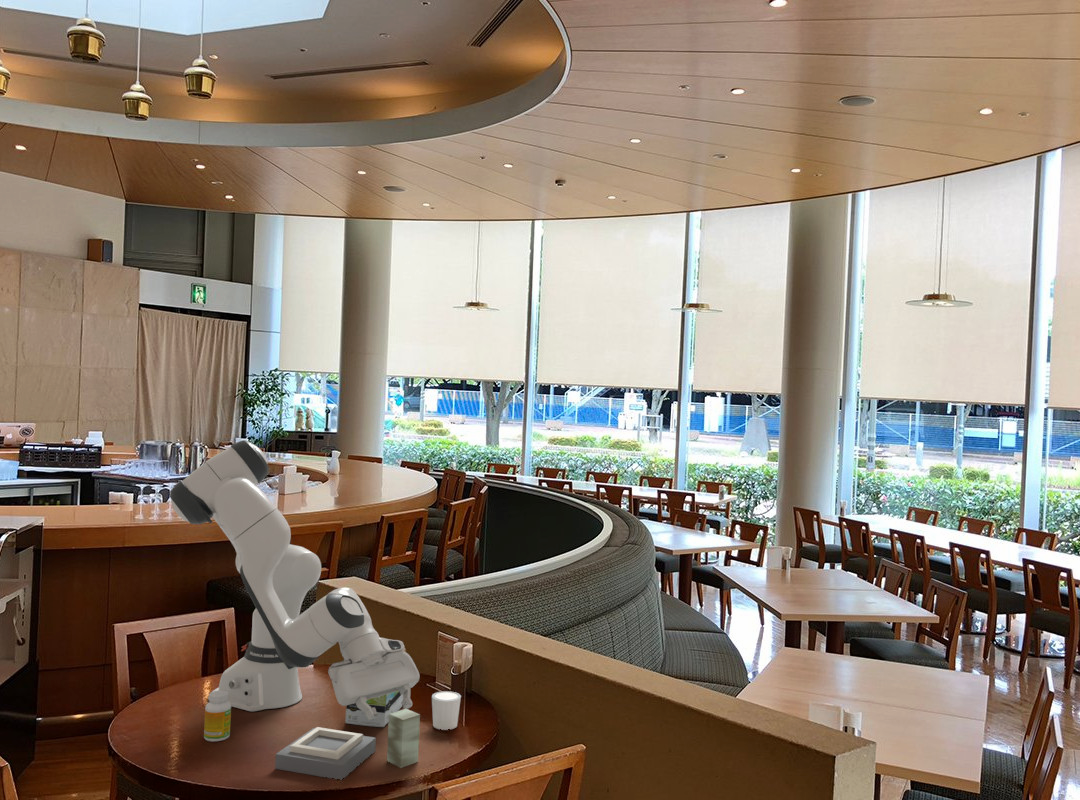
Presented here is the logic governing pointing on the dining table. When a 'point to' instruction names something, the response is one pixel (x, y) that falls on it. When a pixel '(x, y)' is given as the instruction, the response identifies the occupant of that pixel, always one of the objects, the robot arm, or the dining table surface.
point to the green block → (403, 738)
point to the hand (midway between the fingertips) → (391, 712)
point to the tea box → (383, 709)
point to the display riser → (326, 753)
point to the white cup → (445, 709)
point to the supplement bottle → (217, 717)
